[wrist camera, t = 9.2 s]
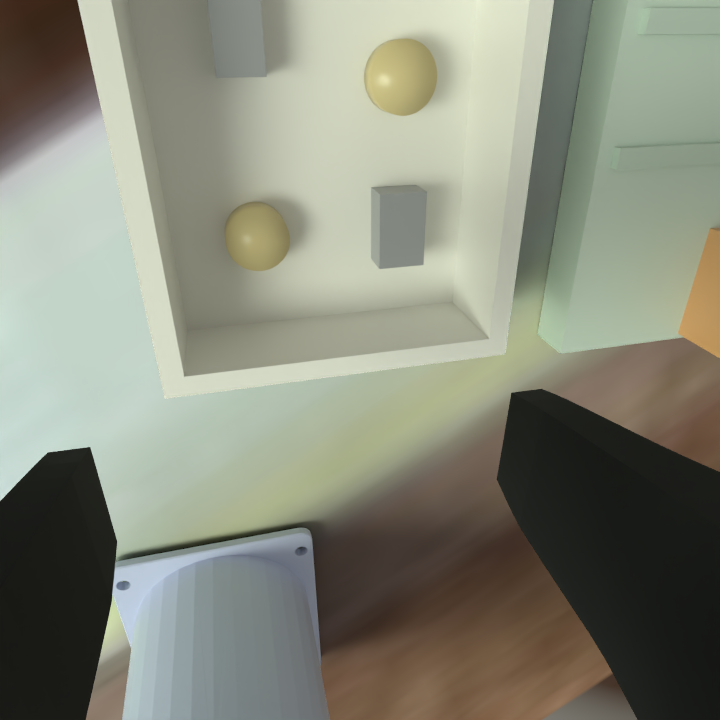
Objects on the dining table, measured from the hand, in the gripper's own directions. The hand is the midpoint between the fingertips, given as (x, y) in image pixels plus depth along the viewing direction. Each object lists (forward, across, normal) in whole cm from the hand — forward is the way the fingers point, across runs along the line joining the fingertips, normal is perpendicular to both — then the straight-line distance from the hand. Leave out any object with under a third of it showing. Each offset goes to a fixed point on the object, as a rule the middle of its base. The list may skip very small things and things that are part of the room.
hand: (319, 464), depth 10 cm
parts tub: (+9, -2, -4) cm, 10 cm away
